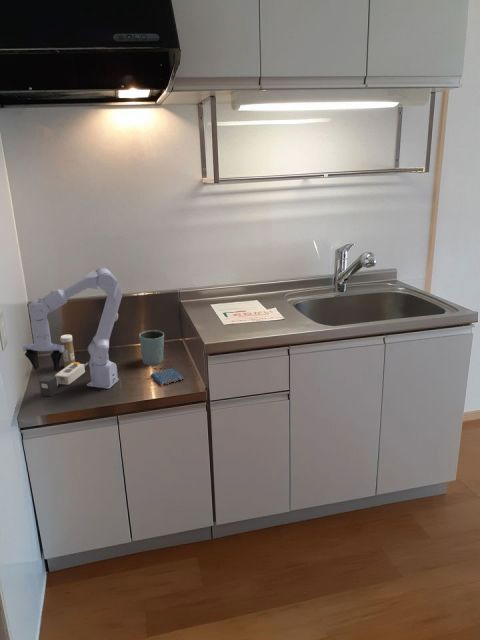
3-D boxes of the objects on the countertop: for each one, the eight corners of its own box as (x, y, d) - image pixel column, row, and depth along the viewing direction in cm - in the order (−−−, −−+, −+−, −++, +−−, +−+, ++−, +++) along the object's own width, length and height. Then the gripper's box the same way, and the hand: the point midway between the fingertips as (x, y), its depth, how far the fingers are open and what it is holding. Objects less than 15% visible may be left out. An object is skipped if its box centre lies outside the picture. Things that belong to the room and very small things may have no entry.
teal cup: (138, 358, 218) (136, 332, 214) (161, 354, 222) (159, 328, 218) (144, 367, 209) (142, 340, 205) (168, 363, 213) (167, 336, 209)
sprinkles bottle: (77, 367, 210) (73, 336, 206) (66, 369, 208) (61, 339, 203) (73, 363, 214) (70, 333, 209) (62, 365, 212) (58, 335, 207)
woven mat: (185, 381, 199) (185, 376, 198) (160, 388, 193) (160, 383, 193) (174, 371, 207) (174, 366, 206) (149, 378, 202) (149, 373, 201)
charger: (61, 388, 192) (59, 374, 190) (50, 396, 186) (48, 382, 184) (51, 387, 193) (49, 373, 191) (41, 395, 187) (38, 380, 185)
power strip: (94, 364, 212) (93, 355, 211) (68, 384, 195) (67, 375, 194) (82, 363, 214) (81, 354, 212) (55, 383, 197) (54, 373, 195)
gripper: (66, 330, 185) (70, 365, 190) (27, 329, 187) (33, 363, 191) (57, 338, 178) (62, 373, 183) (17, 336, 180) (23, 371, 185)
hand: (46, 369), depth 187 cm, fingers open, 7 cm apart
